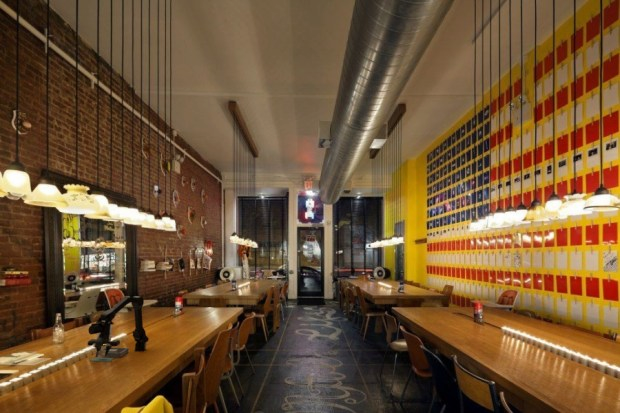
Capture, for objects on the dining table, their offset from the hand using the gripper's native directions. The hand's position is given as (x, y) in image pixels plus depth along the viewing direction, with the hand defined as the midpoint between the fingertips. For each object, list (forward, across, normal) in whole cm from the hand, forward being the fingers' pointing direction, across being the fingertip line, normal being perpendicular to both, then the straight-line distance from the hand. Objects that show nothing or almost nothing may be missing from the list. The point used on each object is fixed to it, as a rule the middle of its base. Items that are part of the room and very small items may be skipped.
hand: (102, 356), depth 255 cm
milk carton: (+3, -17, +39) cm, 43 cm away
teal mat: (+2, 0, 0) cm, 2 cm away
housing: (+2, +1, +13) cm, 13 cm away
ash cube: (0, 0, 0) cm, 0 cm away
